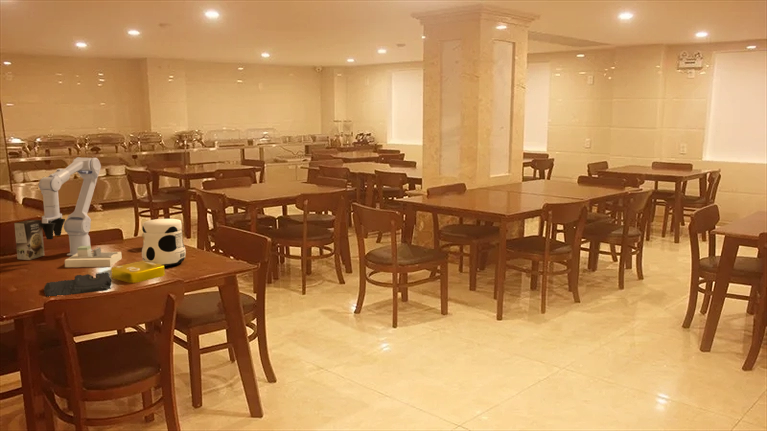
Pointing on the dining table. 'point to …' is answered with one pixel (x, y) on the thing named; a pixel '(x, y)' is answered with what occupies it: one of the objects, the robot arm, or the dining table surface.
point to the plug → (84, 251)
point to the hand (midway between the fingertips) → (53, 237)
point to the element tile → (138, 271)
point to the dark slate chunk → (79, 285)
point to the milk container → (163, 242)
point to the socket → (93, 260)
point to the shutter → (98, 253)
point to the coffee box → (29, 239)
